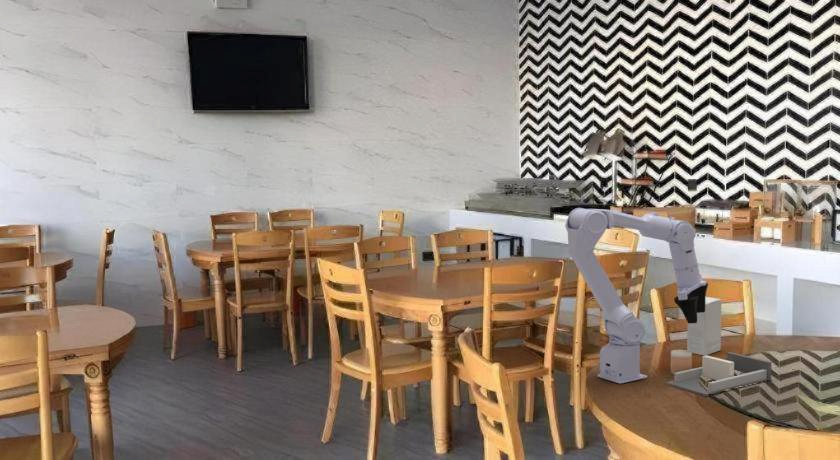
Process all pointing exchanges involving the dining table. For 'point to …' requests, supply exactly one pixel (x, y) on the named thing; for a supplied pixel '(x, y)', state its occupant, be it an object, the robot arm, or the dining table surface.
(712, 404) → the dining table surface
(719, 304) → the skincare box
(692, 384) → the lane
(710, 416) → the dining table surface
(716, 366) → the follower
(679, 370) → the jar
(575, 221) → the robot arm
